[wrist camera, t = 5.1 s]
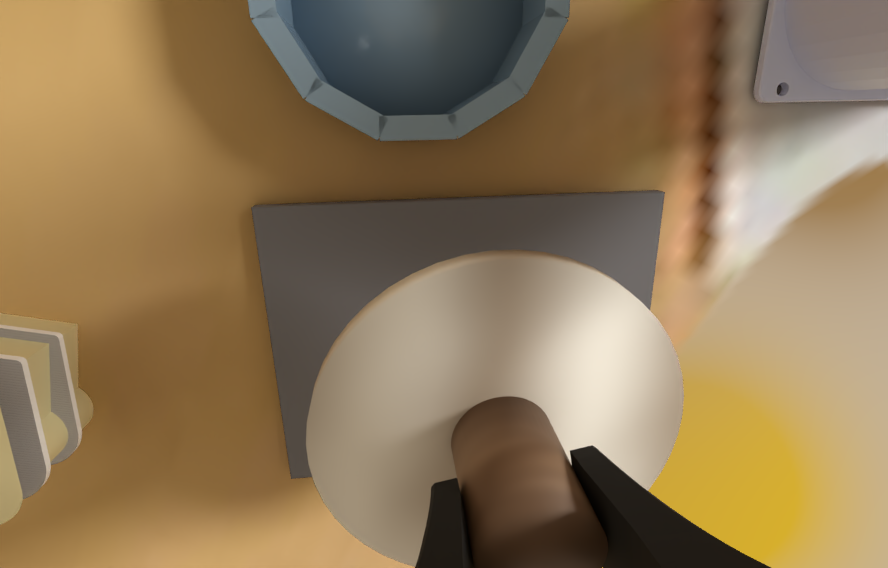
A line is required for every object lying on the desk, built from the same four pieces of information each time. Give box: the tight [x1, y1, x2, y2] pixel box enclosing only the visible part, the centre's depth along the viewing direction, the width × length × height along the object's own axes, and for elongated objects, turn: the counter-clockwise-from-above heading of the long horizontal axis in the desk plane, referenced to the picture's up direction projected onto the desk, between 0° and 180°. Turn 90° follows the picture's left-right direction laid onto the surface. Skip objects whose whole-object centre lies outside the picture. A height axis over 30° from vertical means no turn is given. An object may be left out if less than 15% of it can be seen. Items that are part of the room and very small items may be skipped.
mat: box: [251, 190, 665, 479], centre depth 23 cm, size 17×13×1 cm
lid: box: [306, 250, 684, 568], centre depth 13 cm, size 11×11×5 cm
